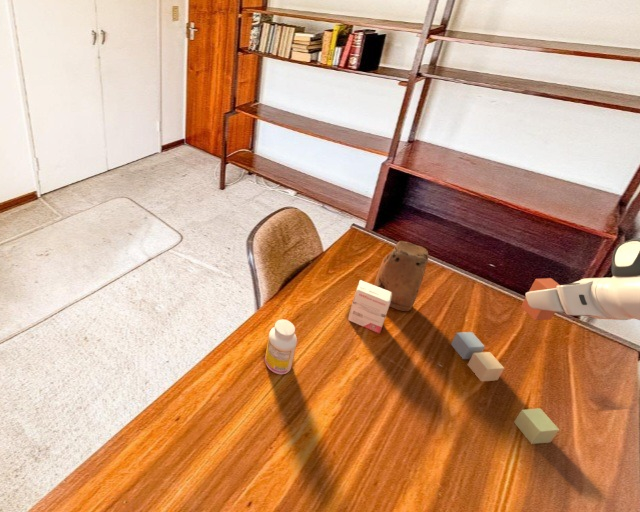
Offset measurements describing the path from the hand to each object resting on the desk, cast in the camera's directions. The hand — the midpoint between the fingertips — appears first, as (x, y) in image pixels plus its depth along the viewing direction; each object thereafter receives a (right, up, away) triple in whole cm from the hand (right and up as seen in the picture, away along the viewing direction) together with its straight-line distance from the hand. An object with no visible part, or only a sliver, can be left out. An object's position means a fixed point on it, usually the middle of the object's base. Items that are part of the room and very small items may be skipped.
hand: (543, 297), depth 102 cm
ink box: (-42, -10, +9) cm, 44 cm away
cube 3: (-19, -15, +2) cm, 24 cm away
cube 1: (-17, -23, -16) cm, 33 cm away
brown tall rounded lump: (-31, -7, +17) cm, 36 cm away
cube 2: (-19, -17, -4) cm, 26 cm away
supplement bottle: (-70, -15, -3) cm, 72 cm away
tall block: (0, -5, +2) cm, 5 cm away
